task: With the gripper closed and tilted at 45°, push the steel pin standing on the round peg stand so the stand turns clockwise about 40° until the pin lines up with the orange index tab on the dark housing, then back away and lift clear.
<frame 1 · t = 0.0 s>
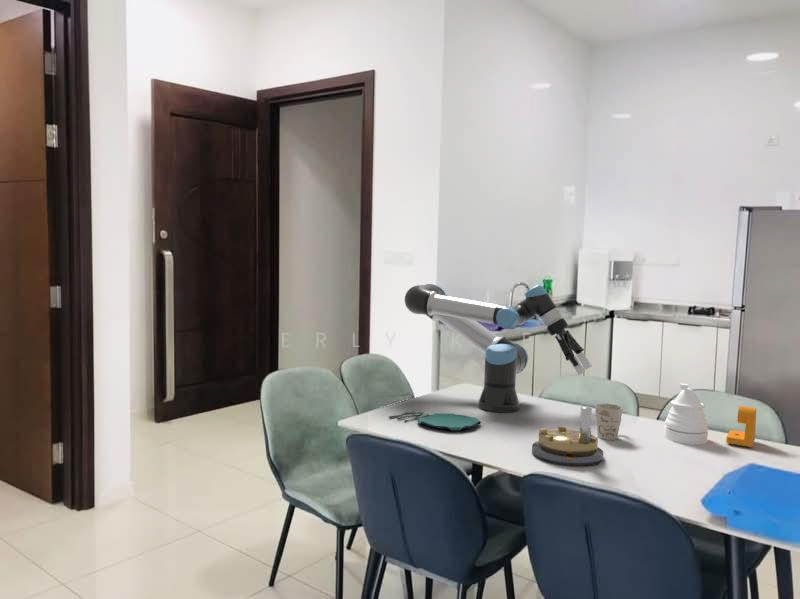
hand: (585, 370, 249), 15 cm above the table, tool tilted 35°, fingers open, 13 cm apart
housing: (567, 455, 194), on the table
round peg stand: (568, 425, 193), point 9 cm above the table, hinge at 0.0°
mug: (610, 436, 216), on the table
honey pot: (685, 439, 216), on the table
cutlery set: (436, 424, 227), on the table
bracket: (740, 444, 213), on the table
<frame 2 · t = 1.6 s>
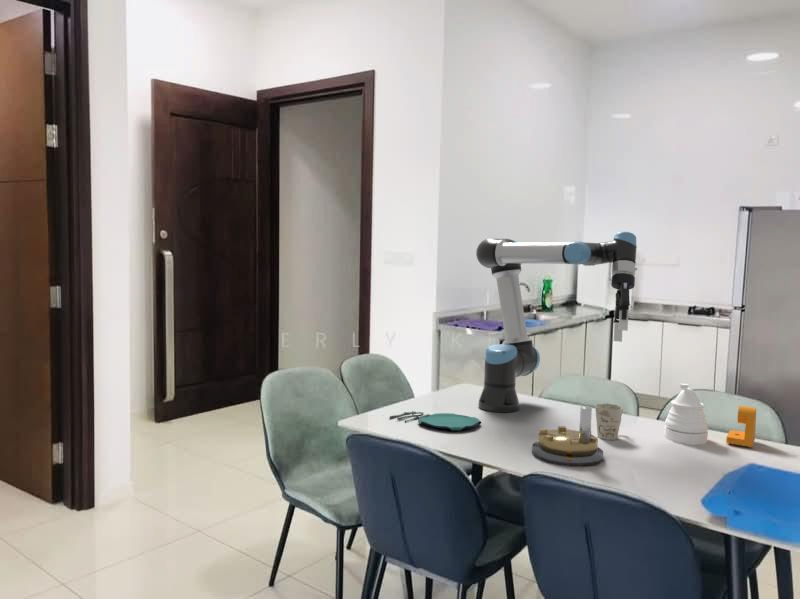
hand: (620, 335, 221), 32 cm above the table, tool tilted 25°, fingers open, 13 cm apart
nothing on the table moved.
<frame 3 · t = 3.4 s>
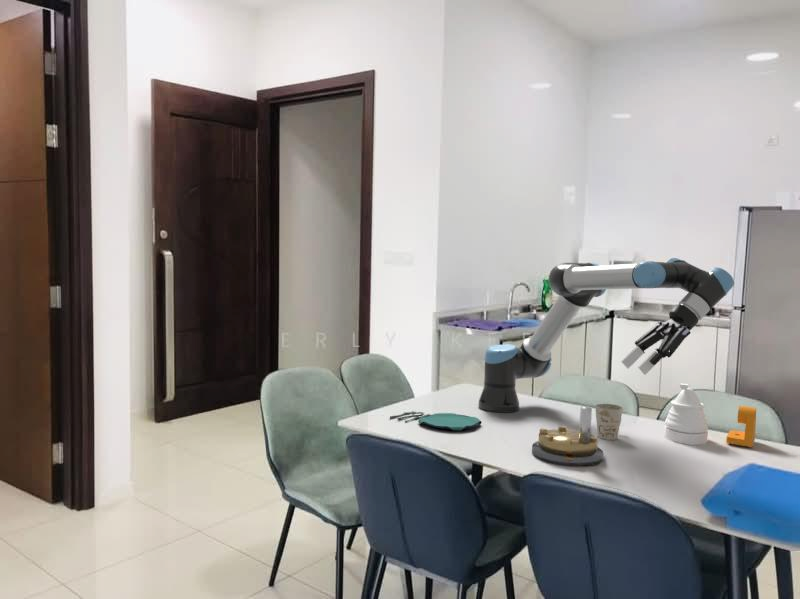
hand: (633, 367, 188), 27 cm above the table, tool tilted 45°, fingers open, 9 cm apart
nothing on the table moved.
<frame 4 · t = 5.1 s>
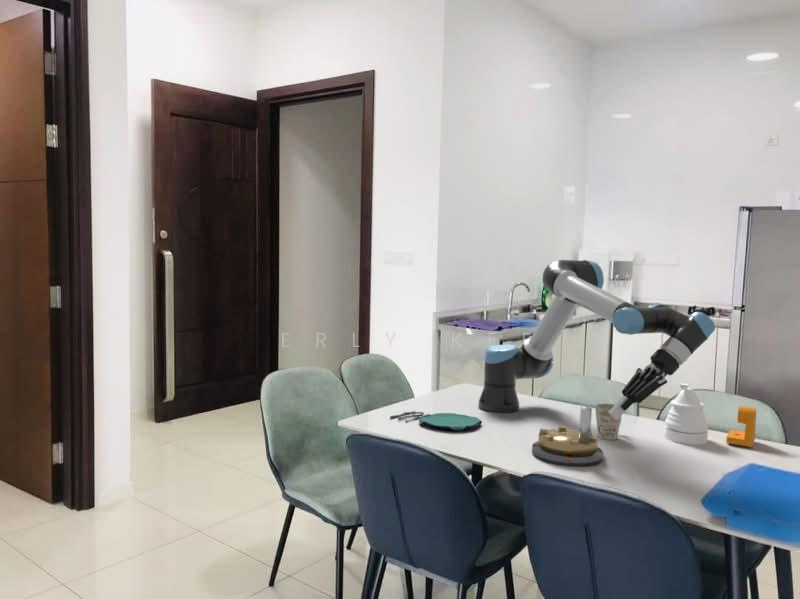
hand: (612, 415, 188), 13 cm above the table, tool tilted 45°, fingers closed
nothing on the table moved.
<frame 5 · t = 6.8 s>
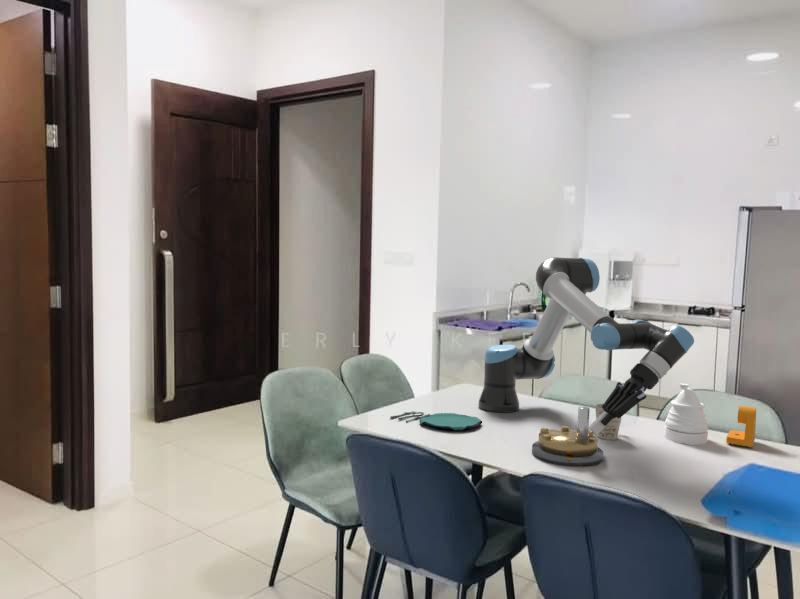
hand: (592, 431, 187), 9 cm above the table, tool tilted 45°, fingers closed
round peg stand: (568, 425, 193), point 9 cm above the table, hinge at -7.1°, touching gripper
everything else where it was.
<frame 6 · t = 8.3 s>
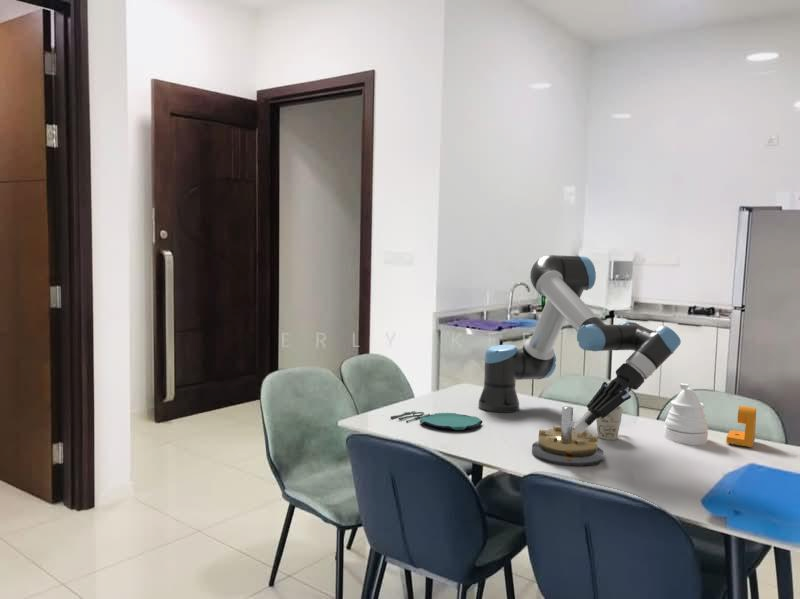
hand: (576, 430, 187), 9 cm above the table, tool tilted 45°, fingers closed
round peg stand: (568, 425, 193), point 9 cm above the table, hinge at -48.5°, touching gripper
everything else where it was.
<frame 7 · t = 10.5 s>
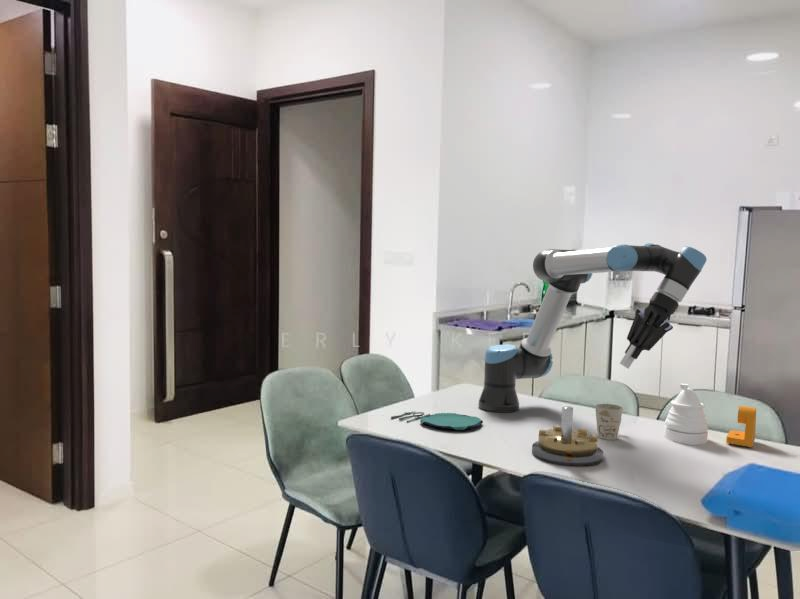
hand: (624, 365, 195), 26 cm above the table, tool tilted 30°, fingers closed
round peg stand: (568, 425, 193), point 9 cm above the table, hinge at -48.6°
everything else where it was.
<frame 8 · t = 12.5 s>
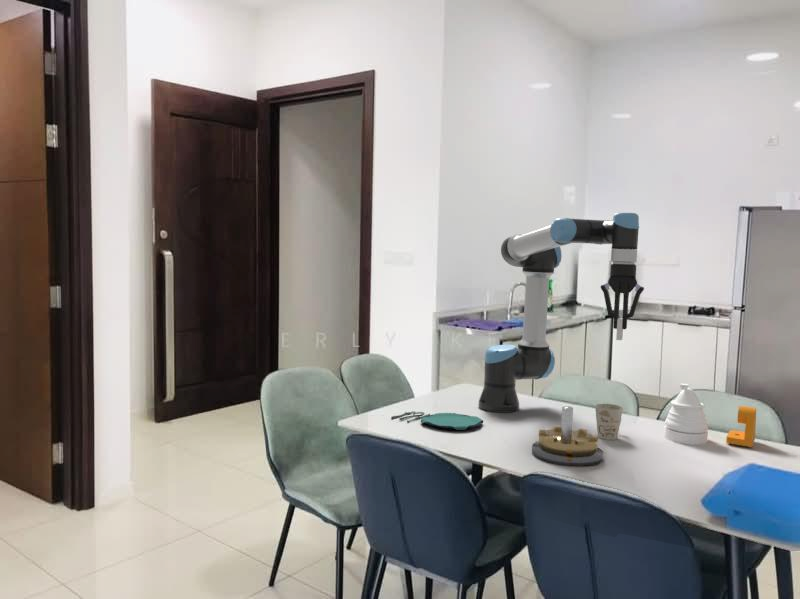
hand: (619, 339, 207), 32 cm above the table, tool pointing down, fingers closed
at the end: round peg stand at -49° (first picture: +0°) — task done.
